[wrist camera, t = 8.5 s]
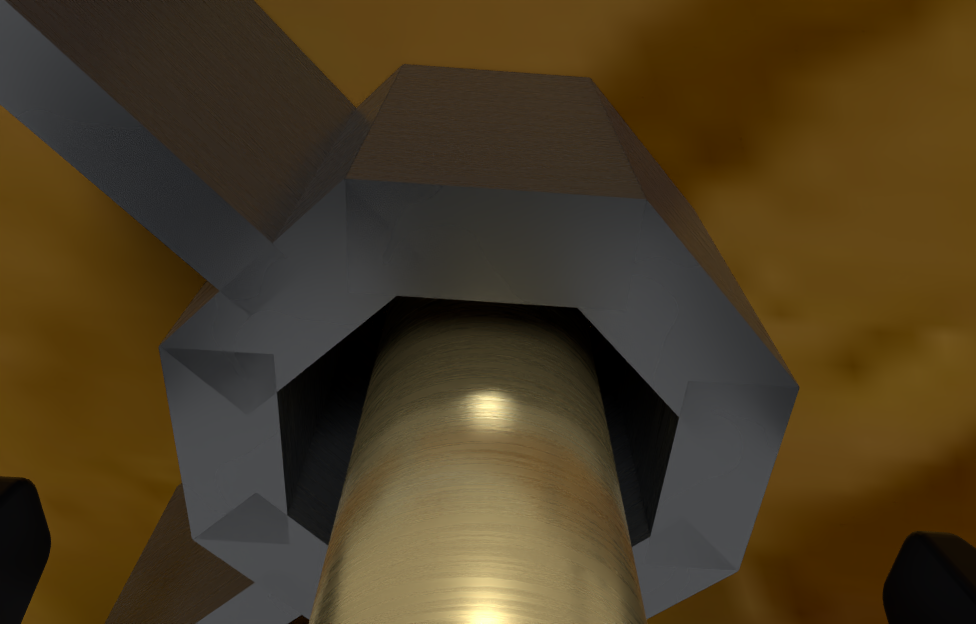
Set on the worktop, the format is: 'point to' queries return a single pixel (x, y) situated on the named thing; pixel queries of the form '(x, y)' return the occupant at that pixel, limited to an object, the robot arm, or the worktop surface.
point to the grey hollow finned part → (387, 282)
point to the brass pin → (481, 477)
